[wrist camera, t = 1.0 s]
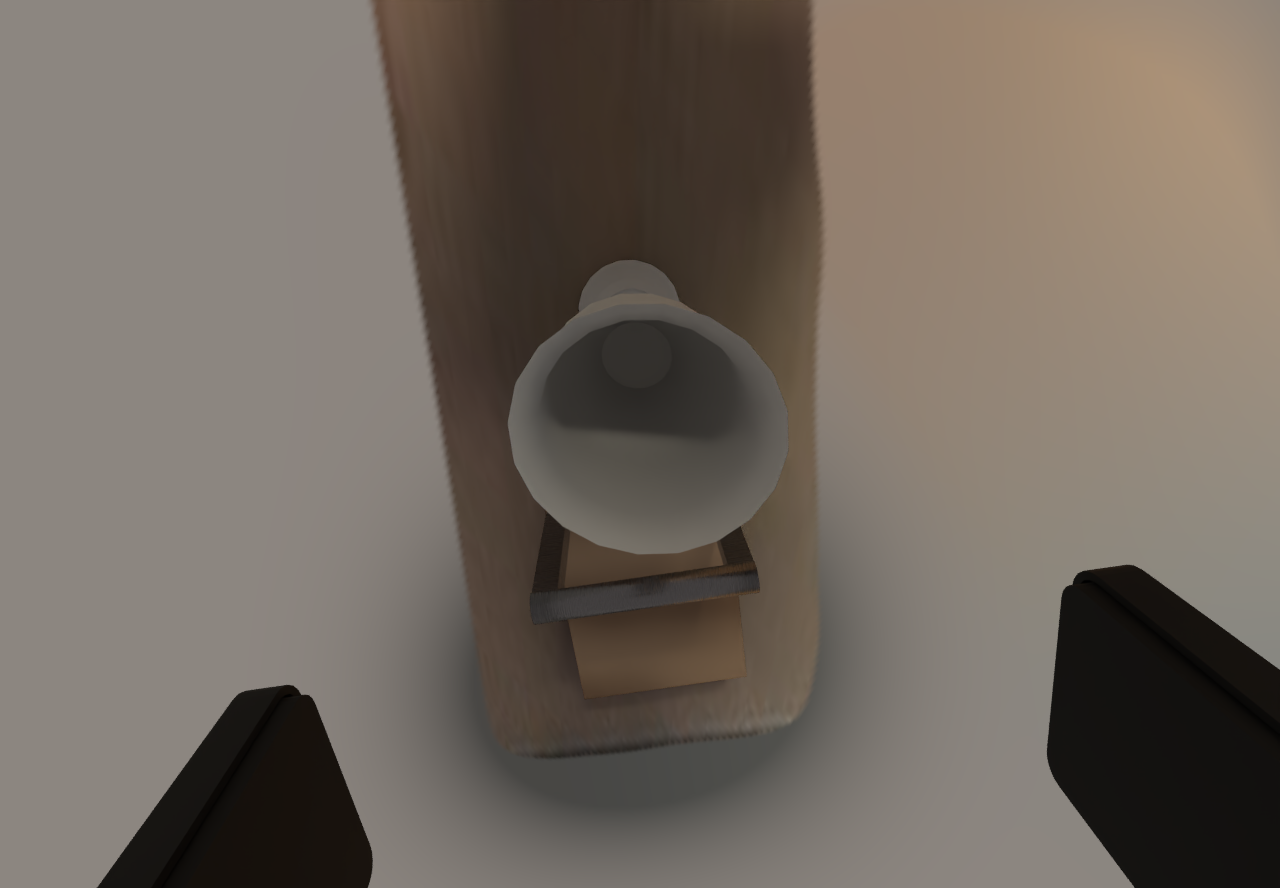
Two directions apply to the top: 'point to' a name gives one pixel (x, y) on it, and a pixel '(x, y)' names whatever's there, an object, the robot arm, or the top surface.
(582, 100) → the top surface
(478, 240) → the top surface
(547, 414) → the chalice
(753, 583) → the cart
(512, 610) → the top surface
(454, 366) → the top surface
